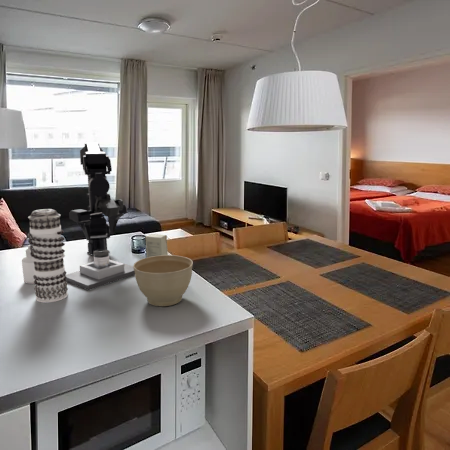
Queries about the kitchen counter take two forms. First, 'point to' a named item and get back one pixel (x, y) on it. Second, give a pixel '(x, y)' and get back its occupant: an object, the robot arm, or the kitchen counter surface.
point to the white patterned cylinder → (47, 255)
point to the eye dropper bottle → (28, 267)
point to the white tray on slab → (99, 275)
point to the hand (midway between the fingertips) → (100, 236)
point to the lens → (101, 259)
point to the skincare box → (156, 245)
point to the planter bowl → (163, 278)
